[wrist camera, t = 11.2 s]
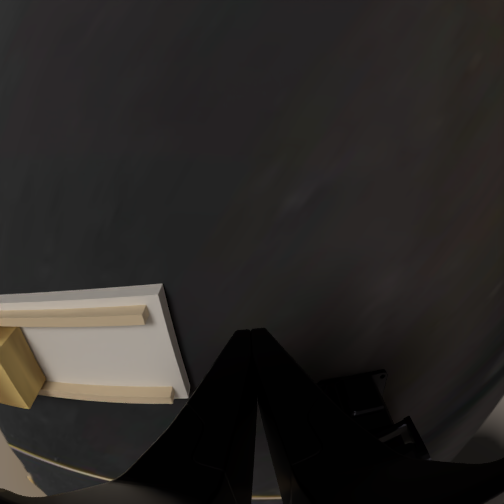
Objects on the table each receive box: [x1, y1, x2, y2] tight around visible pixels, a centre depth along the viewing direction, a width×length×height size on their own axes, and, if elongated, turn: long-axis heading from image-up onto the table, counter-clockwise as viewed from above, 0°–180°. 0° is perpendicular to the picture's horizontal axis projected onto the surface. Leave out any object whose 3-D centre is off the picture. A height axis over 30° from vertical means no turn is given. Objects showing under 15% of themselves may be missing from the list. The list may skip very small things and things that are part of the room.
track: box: [0, 284, 190, 404], centre depth 21 cm, size 22×10×6 cm, turn 95°
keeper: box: [0, 326, 46, 409], centre depth 20 cm, size 6×6×4 cm
